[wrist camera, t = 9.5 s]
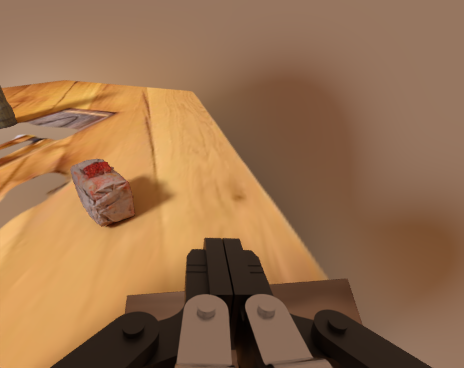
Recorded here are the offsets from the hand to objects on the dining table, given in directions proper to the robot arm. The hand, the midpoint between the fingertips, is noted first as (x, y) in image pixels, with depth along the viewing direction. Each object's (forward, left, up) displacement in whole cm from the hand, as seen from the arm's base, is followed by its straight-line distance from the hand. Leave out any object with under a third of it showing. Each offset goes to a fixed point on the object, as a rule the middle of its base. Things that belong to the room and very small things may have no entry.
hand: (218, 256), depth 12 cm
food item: (-42, 0, -23) cm, 48 cm away
